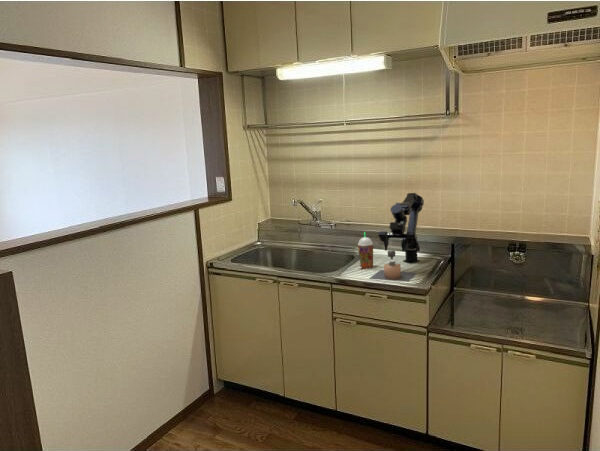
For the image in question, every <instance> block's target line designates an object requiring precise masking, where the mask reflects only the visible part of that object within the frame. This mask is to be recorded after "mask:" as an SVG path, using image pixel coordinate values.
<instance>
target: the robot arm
mask: <svg viewBox="0 0 600 451" xmlns="http://www.w3.org/2000/svg"><path fill="white" fill-rule="evenodd" d="M424 202H425V199H423V197H422V196H421V195H419V194H418V193H416V192H410V193H407V194H406V197H405V198H404V199H403V201H402V202H395V204H393V205H392V206H391V207H390V212H391V215H392V216H393V219H394V222H392V221H391V222H390V223H389V229H390V232H391V233H388V232H387V231H386V230H380V231H379V232H378V237H379V240H380V241H381V242H383V245H384V246H383V247H384V250H385V251H388V247H389V243H390V242H389V241H390V239H402V240H401V242H400V245H401V251H402V252H405V254H404V255H405V259H404V260H403V262H405V263H408V264H414V263H417V262H420V260H419V259H418V252H420V251H421V247H420V244H419V242H418V237H417V234H416V232H417V226H418V219H419V213H420V212H421V211H422V210H423V206H425V203H424ZM407 216H408V217H407ZM407 222H408V223H407ZM406 226H407V229H406Z"/></svg>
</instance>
